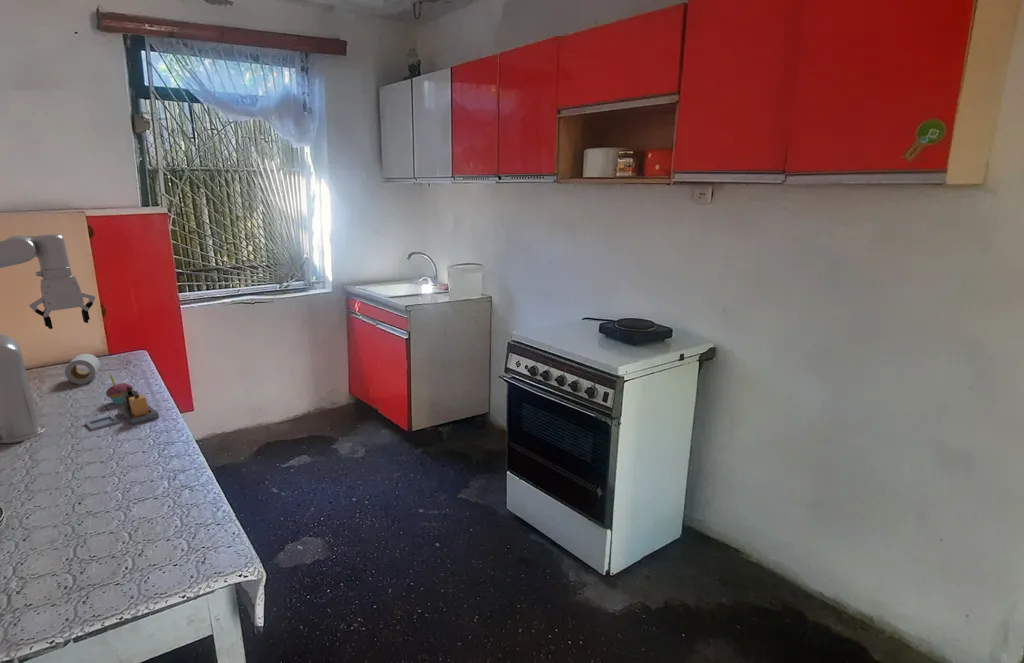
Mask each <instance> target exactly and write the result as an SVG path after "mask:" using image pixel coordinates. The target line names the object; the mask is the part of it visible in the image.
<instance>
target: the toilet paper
mask: <svg viewBox="0 0 1024 663" xmlns="http://www.w3.org/2000/svg"><path fill="white" fill-rule="evenodd" d="M80 365H81V366H85V368H87V369H88V371H82V370H80V369H79V368H78V366H80ZM100 369H101V362H100V360H99V358H98V357H96V355H94V354H91V353H80V354H77V355H75V356H74V357H73V358H72V360H70V362H69V363H68V364H67V365H66V366H65V369H64V375H65V377H66V379H67V380H69V381H70V382H71V383H74V384H76V385H83V384H87V383H89V382H91V381H92V380H93V379H94V378H95V376H96V375H97V374H98V372H99V370H100Z"/></svg>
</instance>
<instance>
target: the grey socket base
mask: <svg viewBox="0 0 1024 663" xmlns="http://www.w3.org/2000/svg"><path fill="white" fill-rule="evenodd" d="M126 388H127V393H123V394H122V397H123V402H124V403H123V406H120V407H116V411H117V415H119V416H120V417H122V419H124V420H125V421H126V422H128V423H129V424H130V425H131V426H136V425H140V424H143V423H146V422H149V421H153V420H157V419H160V415H159V412H158V411H157V410H156V409H154V408H153V407H151V406H150V405H148V404H147V406H148V411H149V413H147V414H144V415H140V416H136V417H133V416H132V412H131V407H130V402H129V398H130V397H134V394H139V395H140V393H139V392H138V391H136V390H134V391H132V388H131V386H128V387H126Z"/></svg>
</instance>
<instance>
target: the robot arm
mask: <svg viewBox="0 0 1024 663" xmlns="http://www.w3.org/2000/svg"><path fill="white" fill-rule="evenodd" d="M34 258H37V259H38V264H39V268H40V270H38V271H35V276H36V277H42V278H41V279H40V294H41V297H40V298H38V299H37V300H35V301H34V302H32V303H30V304H29V307H30V309H31V310H33V312H34V313H36V314H38V315H39V316H42V317H43V320H44V322H43V323H44V325H45V327H46V328H48V329H49V330H52V329H53V328H54V327H53V322H52V318H51V316H50V314H51V312H53V311H54V312H55V311H61V310H66V309H67V310H68V309H73V308H75V309H76V308H81V316H82V321H83V322H84V323H85V324H88V323H89V320H90V314H89V311H90V308H91V307H93V305H94V302H95V299H96V296H95V295H92V294H89V293H85V292H82V290H81V286H80V285H79V282H78V279H77V277H76V276H75V275H73V272H72V270H71V265H70V261H69V256H68V251H67V248H66V242H65V239H64V236H63V235H61V234H58V233H57V234H56V233H51V234H50V233H49V234H40V235H39V234H38V235H13V236H9V237H8V238H7V239H4V240H0V269H3V268H4V269H5V268H7V267H8V268H9V267H11V266H16V265H20V264H24V263H27V262H30V261H32V260H33V259H34ZM84 298H85V299H88V301H87V302H86V303H85V301H84ZM41 304H43V308H44V309H43V311H42V310H40V309H39V308H38V306H39V305H41ZM23 357H24V356H23V354H22V349H21V347H20V345H19V343H18V342H17V341H16V340H15V339H14V338H12V337H9V336H8V335H4V334H1V333H0V444H14V443H20V442H24V441H25V440H26V441H27V440H29V439H33V438H35V437H38V436H40V435H42V434H44V433H45V432H46V431H47V430H48V427H47V425H45V424H41V423H40V421H39V418H38V413H37V410H36V405H35V403H34V401H35V400H34V398H33V394H32V391H31V386H30V382H29V378H28V374H27V371H26V367H25V361H24V358H23Z"/></svg>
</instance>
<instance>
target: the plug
mask: <svg viewBox="0 0 1024 663" xmlns="http://www.w3.org/2000/svg"><path fill="white" fill-rule="evenodd" d="M129 402H130V407H131V412H132V416H133V417H136V416H140V415H144V414H147V413H149V411H148V406H147V405H148V402H147V397H146V396H145V395H143V394H140V393H139V394H134V397H130V398H129Z"/></svg>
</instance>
